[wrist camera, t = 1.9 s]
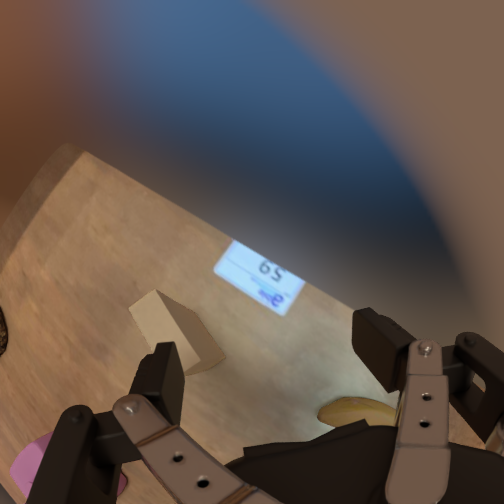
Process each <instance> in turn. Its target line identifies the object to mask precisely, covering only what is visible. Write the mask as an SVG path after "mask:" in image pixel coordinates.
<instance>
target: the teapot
mask: <svg viewBox="0 0 504 504" xmlns="http://www.w3.org/2000/svg"><path fill="white" fill-rule="evenodd" d="M53 432H54V431H53ZM53 432H50V433H48V434H46V435H44V436H42V437H41V438H39V439H37V440H35V441H33V442H32V443H30V444H29V445H28V446H27V447H25V448H24V449H23V450H22V452H21V453H20V454H19V455H18V456H17V458H16V459H15V461H14V463H13V464H12V466H11V469H10V475H11V477H12V478H13V480H14V481H15V483H16V484H17V485H18V487H19V488H20V490H21V491H22V492H23V494H24V495H25V496H26V498H28V495H29V492H30V489H31V487H32V484H33V481H34V478H35V476H36V473H37V470H38V468H39V465H40V463H41V460H42V458H43V455H44V453H45V450H46V448H47V446H48V443H49V441H50V439H51V436H52V434H53ZM126 482H127V480H126V478H125V477H124V475H123V474H122V473H120V479H119V486H118V493H117V496H118V495H119V494H120V493H121V492H122V490H123V489H124V487H125V485H126ZM25 504H26V503H25Z"/></svg>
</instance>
